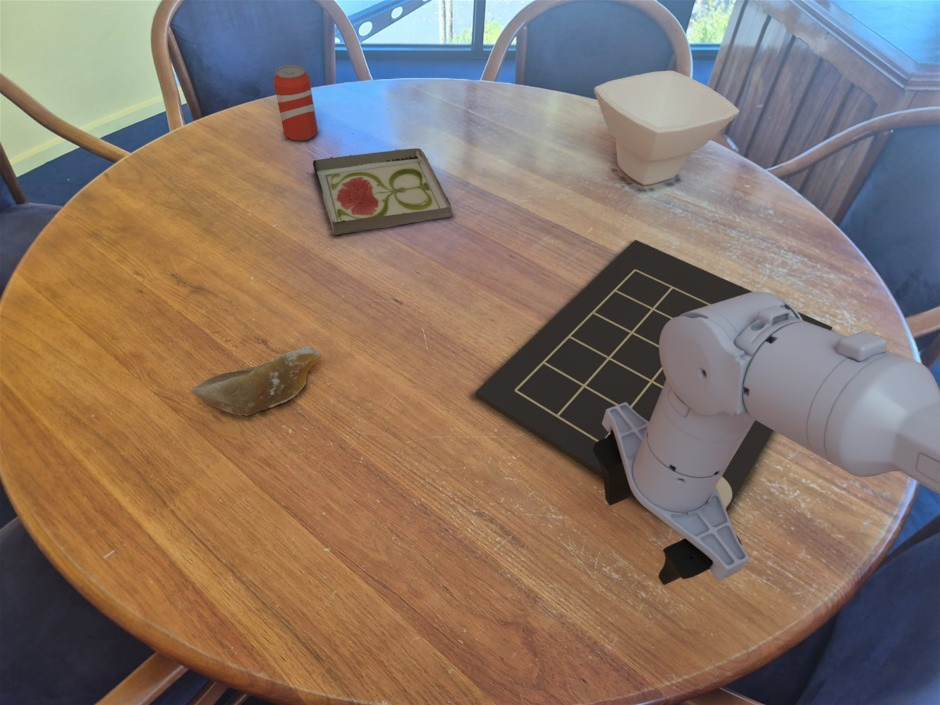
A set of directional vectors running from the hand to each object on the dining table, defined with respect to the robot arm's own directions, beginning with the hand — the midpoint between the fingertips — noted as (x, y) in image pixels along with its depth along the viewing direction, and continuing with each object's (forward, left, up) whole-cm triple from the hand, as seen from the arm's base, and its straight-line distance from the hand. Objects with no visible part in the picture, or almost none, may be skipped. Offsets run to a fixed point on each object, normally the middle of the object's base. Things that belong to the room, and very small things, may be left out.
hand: (642, 535), depth 52 cm
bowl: (+61, -47, -10) cm, 78 cm away
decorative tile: (+73, -1, -10) cm, 74 cm away
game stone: (+3, -12, -9) cm, 16 cm away
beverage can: (+98, +6, -10) cm, 99 cm away
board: (+22, -22, -10) cm, 33 cm away
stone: (+38, +26, -10) cm, 47 cm away
